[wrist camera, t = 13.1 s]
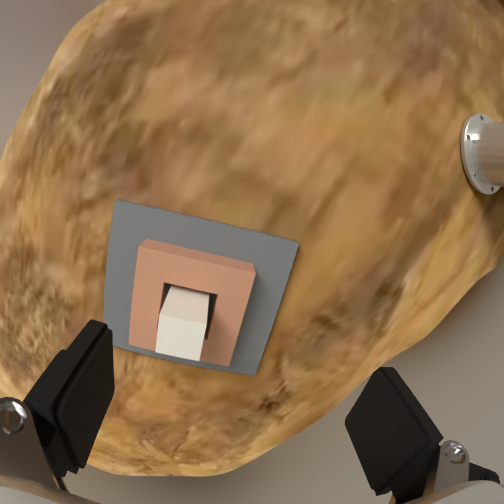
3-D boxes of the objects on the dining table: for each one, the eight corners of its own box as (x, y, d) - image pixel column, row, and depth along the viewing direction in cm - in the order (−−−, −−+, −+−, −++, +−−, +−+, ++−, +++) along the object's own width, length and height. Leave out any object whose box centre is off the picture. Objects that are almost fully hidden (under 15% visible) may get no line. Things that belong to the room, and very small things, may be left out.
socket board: (296, 241, 31) (307, 251, 27) (254, 371, 36) (257, 390, 32) (118, 199, 28) (104, 203, 24) (105, 338, 32) (95, 355, 28)
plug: (209, 287, 31) (206, 324, 23) (203, 318, 32) (199, 361, 24) (173, 279, 30) (159, 314, 22) (168, 311, 31) (155, 352, 23)
